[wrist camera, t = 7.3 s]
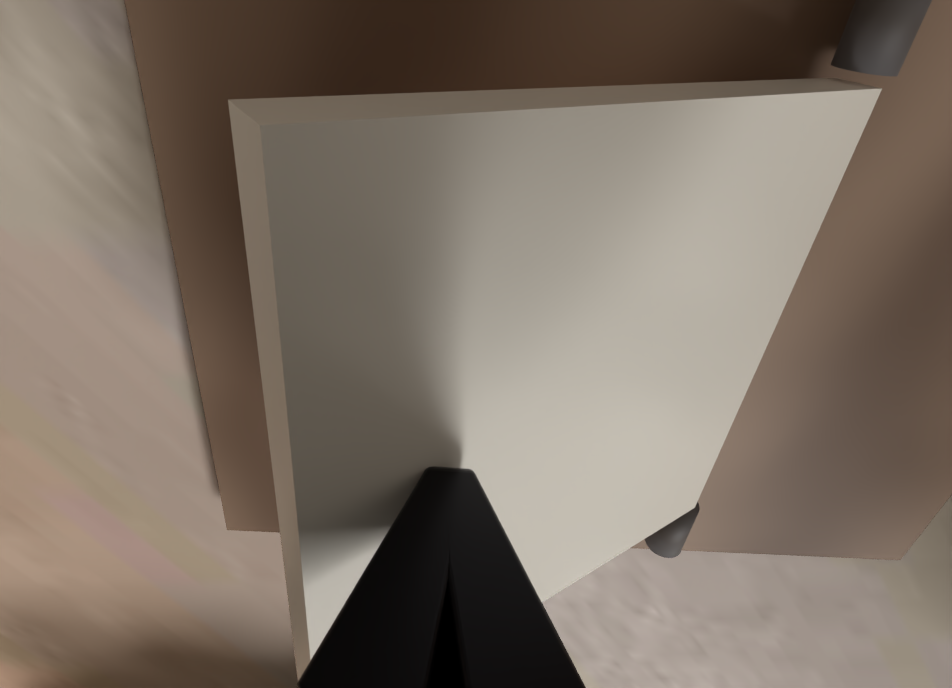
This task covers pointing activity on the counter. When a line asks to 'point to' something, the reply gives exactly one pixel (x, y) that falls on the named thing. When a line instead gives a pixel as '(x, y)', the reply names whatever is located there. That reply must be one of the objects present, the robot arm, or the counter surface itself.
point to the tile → (519, 302)
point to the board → (610, 64)
